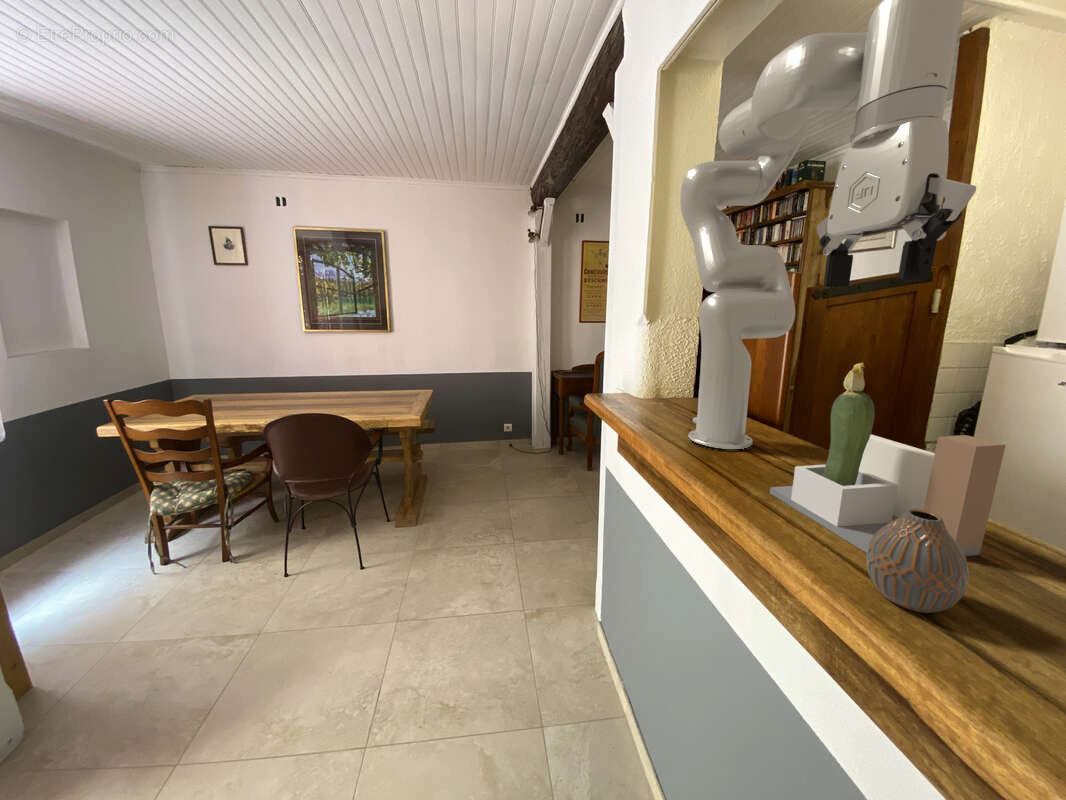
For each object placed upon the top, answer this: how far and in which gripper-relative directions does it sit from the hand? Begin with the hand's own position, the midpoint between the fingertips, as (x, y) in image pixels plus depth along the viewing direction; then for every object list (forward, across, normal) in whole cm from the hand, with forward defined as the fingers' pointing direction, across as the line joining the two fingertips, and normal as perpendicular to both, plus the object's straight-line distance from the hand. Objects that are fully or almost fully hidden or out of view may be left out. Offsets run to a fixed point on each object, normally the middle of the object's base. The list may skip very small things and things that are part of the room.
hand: (870, 283), depth 48 cm
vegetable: (+30, 0, 0) cm, 30 cm away
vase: (+30, +16, -7) cm, 35 cm away
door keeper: (+30, +2, +2) cm, 30 cm away
